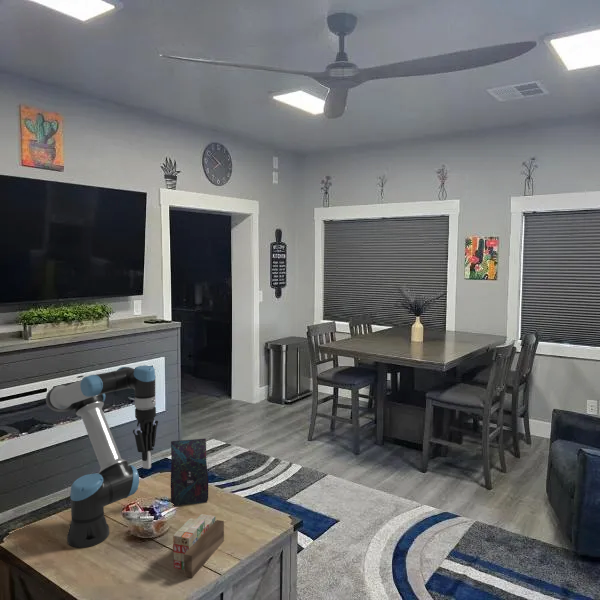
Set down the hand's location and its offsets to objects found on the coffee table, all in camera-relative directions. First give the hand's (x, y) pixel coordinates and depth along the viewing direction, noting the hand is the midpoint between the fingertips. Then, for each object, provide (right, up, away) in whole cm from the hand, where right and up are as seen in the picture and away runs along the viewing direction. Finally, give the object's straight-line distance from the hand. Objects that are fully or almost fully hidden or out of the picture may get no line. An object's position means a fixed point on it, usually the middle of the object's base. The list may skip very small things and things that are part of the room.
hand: (146, 467), depth 194 cm
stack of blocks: (+20, -30, -5) cm, 37 cm away
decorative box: (+9, -27, +35) cm, 45 cm away
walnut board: (+24, -30, -8) cm, 39 cm away
